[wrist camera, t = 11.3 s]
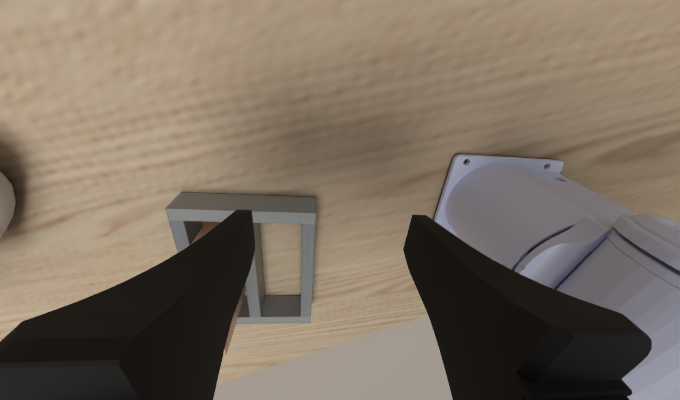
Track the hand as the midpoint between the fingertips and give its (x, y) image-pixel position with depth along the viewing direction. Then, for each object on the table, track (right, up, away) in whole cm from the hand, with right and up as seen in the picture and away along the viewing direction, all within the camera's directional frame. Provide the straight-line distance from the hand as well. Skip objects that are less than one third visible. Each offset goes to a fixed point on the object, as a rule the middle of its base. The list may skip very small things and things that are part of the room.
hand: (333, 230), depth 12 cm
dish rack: (-7, -4, +12) cm, 15 cm away
